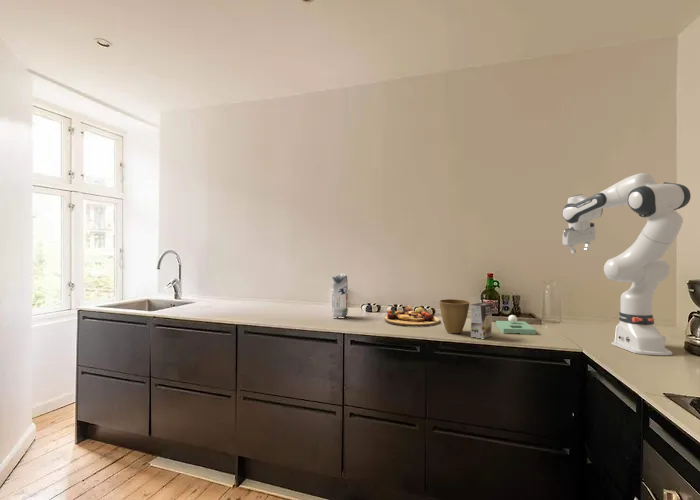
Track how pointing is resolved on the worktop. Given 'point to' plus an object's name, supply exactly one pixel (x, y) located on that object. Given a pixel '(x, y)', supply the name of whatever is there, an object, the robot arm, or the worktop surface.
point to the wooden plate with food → (411, 317)
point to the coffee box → (481, 320)
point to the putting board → (515, 327)
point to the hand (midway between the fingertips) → (579, 251)
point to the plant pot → (454, 314)
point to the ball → (512, 318)
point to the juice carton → (339, 296)
